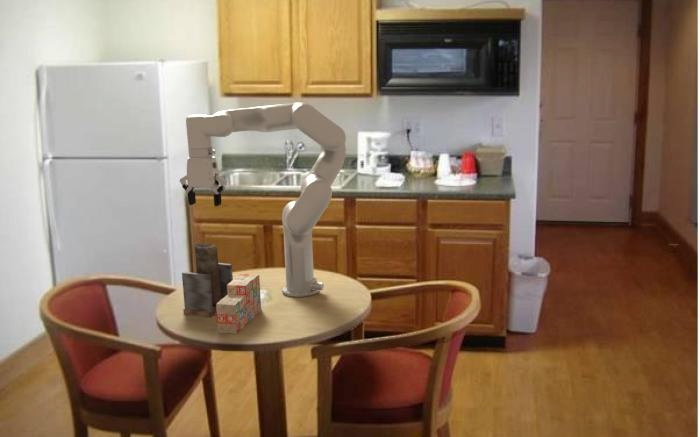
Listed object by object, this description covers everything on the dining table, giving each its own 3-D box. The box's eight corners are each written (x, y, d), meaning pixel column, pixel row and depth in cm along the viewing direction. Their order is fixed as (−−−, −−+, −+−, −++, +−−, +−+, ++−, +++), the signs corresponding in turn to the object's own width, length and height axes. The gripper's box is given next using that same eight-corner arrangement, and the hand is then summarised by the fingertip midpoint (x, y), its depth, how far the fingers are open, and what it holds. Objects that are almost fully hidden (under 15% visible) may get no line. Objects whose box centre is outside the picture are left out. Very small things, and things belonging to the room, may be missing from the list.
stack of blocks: (237, 334, 228) (234, 295, 225) (217, 333, 229) (214, 294, 226) (261, 310, 248) (259, 273, 245) (243, 309, 249) (241, 272, 247)
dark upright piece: (199, 300, 254) (195, 241, 249) (222, 298, 255) (218, 240, 250) (198, 308, 246) (193, 248, 242) (221, 306, 247) (216, 246, 243)
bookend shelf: (235, 302, 255) (233, 263, 252) (209, 317, 242) (206, 276, 239) (210, 299, 259) (207, 260, 256) (183, 313, 246) (180, 273, 243)
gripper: (229, 151, 248) (233, 203, 252) (184, 151, 255) (189, 201, 259) (217, 155, 241) (222, 208, 245) (171, 154, 248) (176, 206, 252)
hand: (205, 204), depth 252 cm, fingers open, 9 cm apart
